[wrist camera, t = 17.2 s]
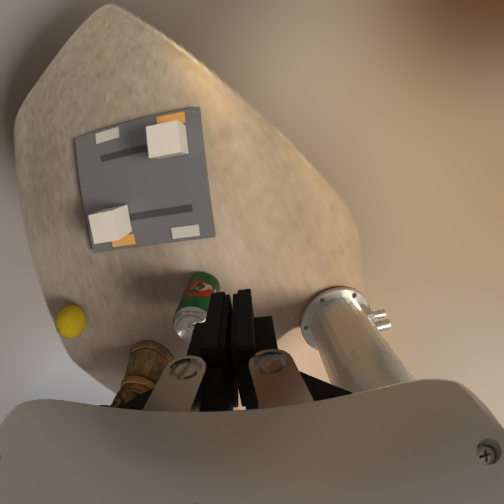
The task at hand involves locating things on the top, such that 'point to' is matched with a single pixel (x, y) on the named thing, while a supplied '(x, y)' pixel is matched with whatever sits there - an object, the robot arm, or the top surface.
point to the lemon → (70, 321)
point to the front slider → (167, 140)
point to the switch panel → (147, 182)
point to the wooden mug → (142, 371)
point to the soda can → (194, 304)
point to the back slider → (110, 224)
